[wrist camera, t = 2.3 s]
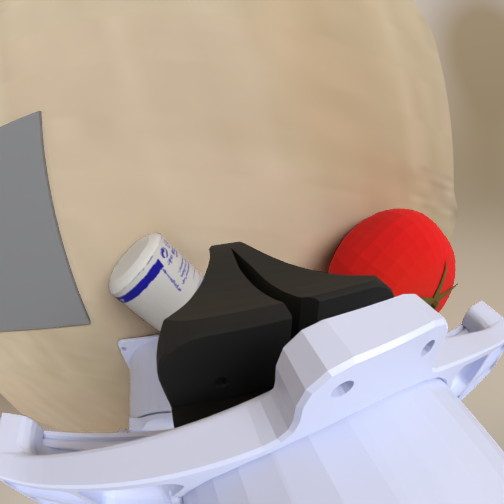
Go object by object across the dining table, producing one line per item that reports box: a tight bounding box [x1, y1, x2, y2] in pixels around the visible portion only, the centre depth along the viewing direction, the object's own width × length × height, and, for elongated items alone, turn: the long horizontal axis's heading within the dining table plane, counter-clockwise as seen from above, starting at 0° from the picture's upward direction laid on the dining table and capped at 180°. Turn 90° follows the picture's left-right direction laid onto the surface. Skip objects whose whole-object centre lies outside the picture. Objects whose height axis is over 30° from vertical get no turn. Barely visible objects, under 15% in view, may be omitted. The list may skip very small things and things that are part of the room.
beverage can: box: [109, 233, 204, 331], centre depth 22 cm, size 6×6×15 cm
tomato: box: [328, 209, 457, 313], centre depth 23 cm, size 12×13×11 cm
